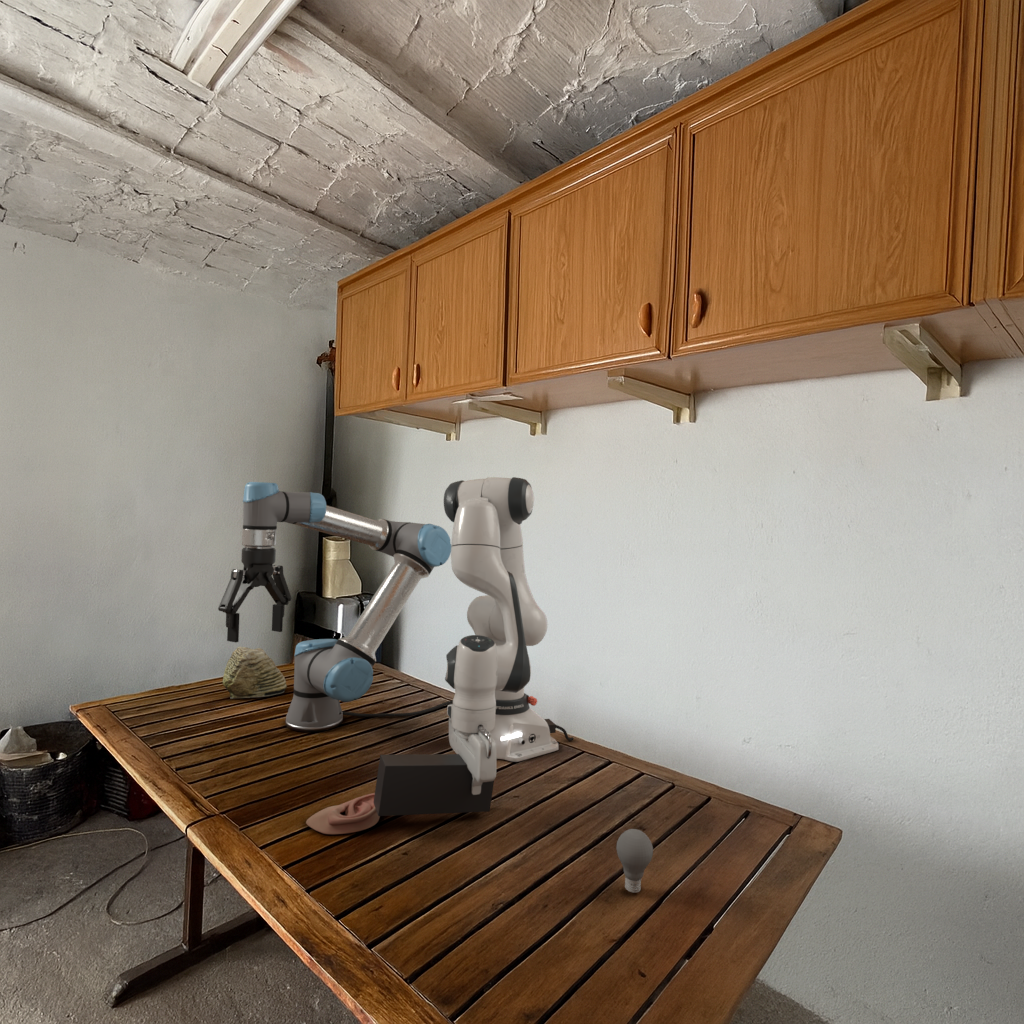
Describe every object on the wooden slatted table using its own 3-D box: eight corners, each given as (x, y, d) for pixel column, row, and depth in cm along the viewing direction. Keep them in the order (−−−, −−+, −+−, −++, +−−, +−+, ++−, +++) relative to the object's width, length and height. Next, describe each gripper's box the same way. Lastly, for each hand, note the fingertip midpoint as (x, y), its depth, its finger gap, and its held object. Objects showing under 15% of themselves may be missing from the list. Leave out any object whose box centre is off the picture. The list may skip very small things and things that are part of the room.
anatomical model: (298, 809, 120) (327, 783, 131) (297, 830, 120) (327, 802, 131) (363, 819, 117) (388, 791, 128) (362, 840, 117) (387, 811, 128)
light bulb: (610, 879, 108) (613, 822, 108) (644, 879, 109) (647, 822, 109) (619, 902, 102) (622, 840, 102) (655, 901, 103) (658, 840, 103)
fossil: (218, 695, 195) (220, 647, 195) (278, 685, 208) (279, 640, 207) (228, 703, 189) (230, 653, 188) (289, 692, 201) (290, 645, 201)
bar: (378, 816, 119) (385, 765, 119) (373, 802, 124) (380, 754, 124) (489, 811, 127) (496, 764, 128) (480, 799, 133) (487, 753, 133)
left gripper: (227, 551, 137) (224, 648, 138) (308, 545, 160) (304, 629, 160) (203, 548, 140) (199, 643, 141) (285, 543, 163) (282, 625, 163)
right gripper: (506, 734, 120) (502, 807, 120) (472, 701, 139) (469, 764, 139) (475, 737, 118) (471, 811, 118) (444, 703, 137) (441, 767, 137)
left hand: (255, 636), depth 151 cm, fingers open, 13 cm apart
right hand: (469, 785), depth 129 cm, fingers closed on bar, 5 cm apart
